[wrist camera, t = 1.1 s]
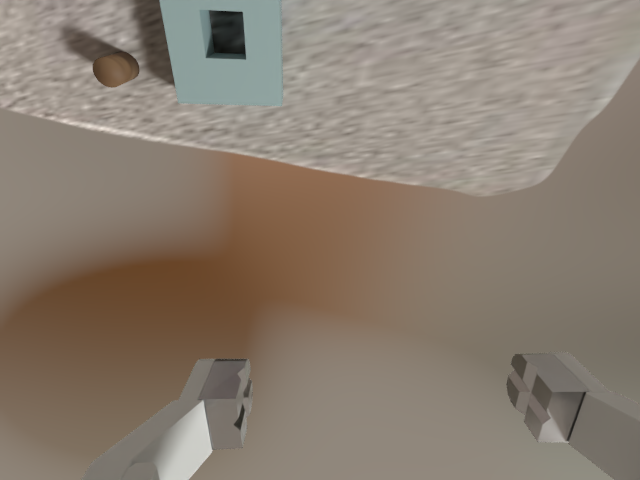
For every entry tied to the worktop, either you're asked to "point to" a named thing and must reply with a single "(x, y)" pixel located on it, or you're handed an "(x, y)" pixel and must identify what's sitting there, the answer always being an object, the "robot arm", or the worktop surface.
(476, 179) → the worktop surface
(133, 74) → the short dowel
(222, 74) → the hole block
